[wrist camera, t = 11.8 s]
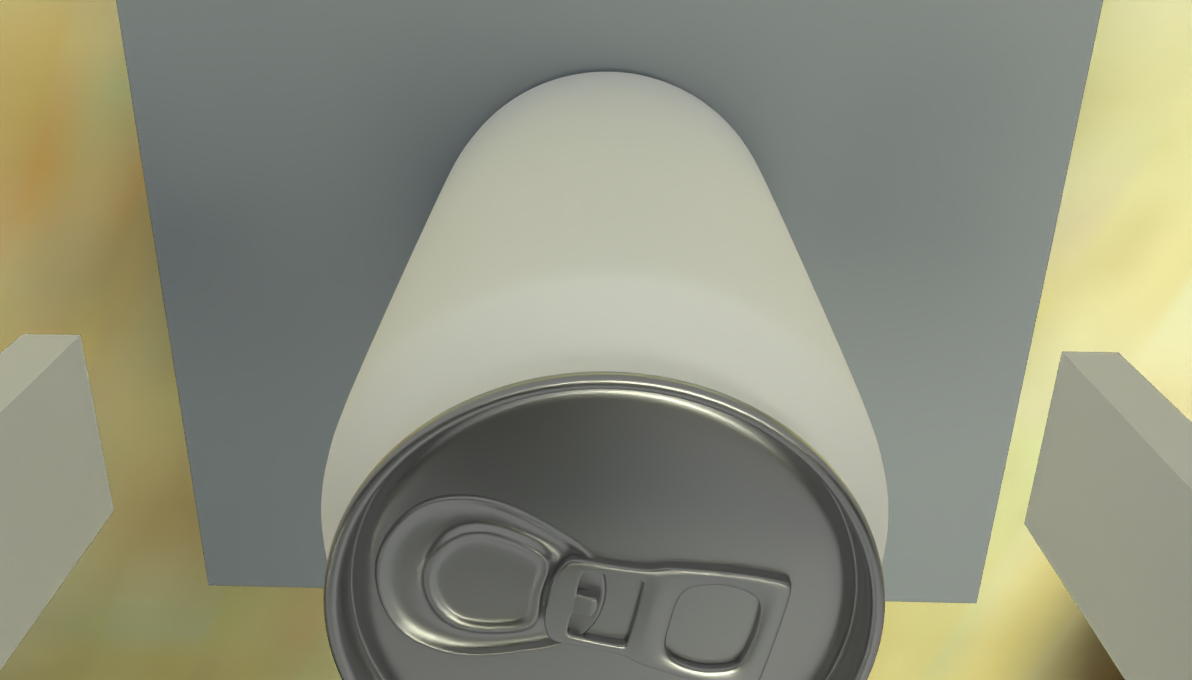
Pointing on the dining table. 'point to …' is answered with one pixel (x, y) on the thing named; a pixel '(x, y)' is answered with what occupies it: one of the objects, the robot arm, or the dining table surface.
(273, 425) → the board
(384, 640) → the can
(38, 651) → the dining table surface
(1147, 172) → the dining table surface
